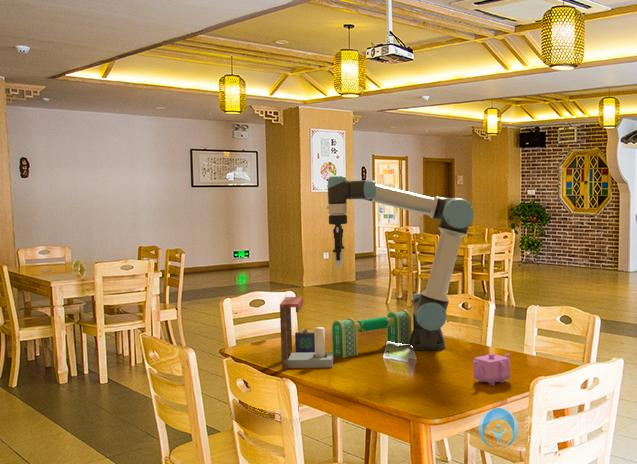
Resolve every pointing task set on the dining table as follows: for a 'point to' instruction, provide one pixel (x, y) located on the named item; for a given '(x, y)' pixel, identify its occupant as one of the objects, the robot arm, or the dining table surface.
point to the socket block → (310, 360)
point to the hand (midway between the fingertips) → (339, 266)
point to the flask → (304, 341)
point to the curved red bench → (287, 326)
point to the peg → (319, 342)
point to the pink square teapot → (492, 368)
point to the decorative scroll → (347, 330)
